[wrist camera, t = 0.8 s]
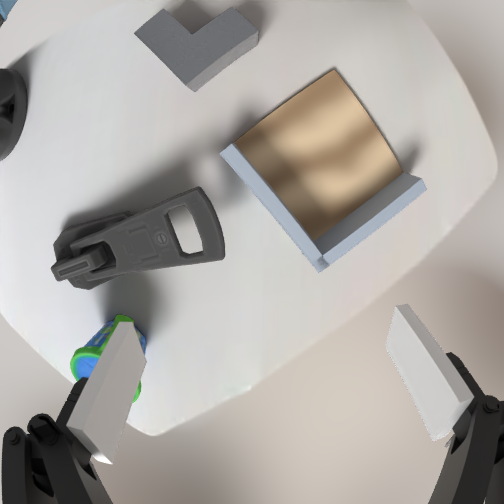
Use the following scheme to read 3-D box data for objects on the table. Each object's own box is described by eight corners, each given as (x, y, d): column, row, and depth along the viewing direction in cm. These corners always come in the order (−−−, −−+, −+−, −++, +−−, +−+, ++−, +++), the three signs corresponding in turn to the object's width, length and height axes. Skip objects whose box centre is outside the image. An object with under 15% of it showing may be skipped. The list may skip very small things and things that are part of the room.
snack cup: (109, 285, 38) (78, 326, 28) (172, 320, 40) (155, 370, 31) (88, 348, 43) (64, 388, 33) (140, 377, 45) (124, 421, 36)
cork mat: (234, 142, 31) (233, 142, 30) (332, 70, 27) (334, 69, 27) (313, 239, 35) (314, 241, 35) (401, 171, 32) (403, 172, 31)
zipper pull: (232, 263, 29) (59, 310, 32) (235, 240, 36) (80, 287, 38) (203, 179, 26) (28, 252, 29) (211, 170, 32) (54, 234, 35)
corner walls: (223, 150, 31) (219, 153, 27) (332, 70, 27) (346, 61, 23) (310, 255, 36) (318, 273, 32) (406, 181, 32) (427, 189, 28)
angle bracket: (148, 45, 26) (133, 33, 21) (208, -1, 24) (202, -19, 19) (194, 92, 28) (185, 85, 24) (257, 45, 26) (258, 30, 22)
